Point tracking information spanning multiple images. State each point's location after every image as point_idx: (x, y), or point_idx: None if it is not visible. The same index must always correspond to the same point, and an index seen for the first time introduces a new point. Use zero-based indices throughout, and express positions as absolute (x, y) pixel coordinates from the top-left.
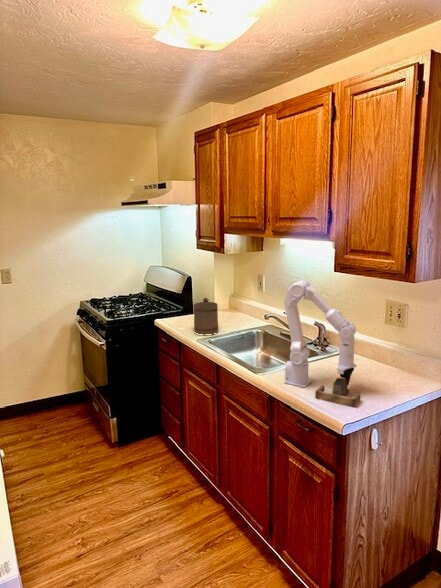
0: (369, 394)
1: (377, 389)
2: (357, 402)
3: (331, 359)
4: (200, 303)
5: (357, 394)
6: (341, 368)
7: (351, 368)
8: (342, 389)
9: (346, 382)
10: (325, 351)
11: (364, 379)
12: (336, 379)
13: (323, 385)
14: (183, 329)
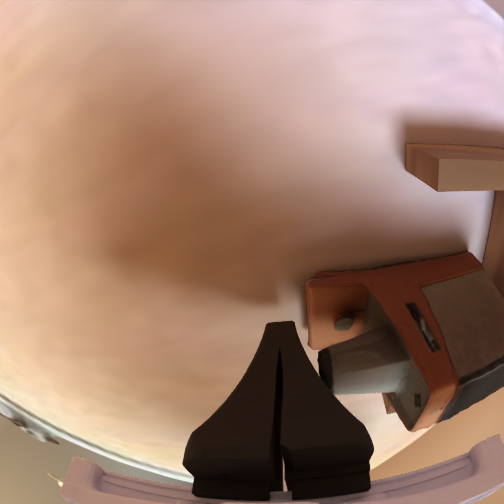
0: (223, 118)
1: (81, 120)
2: (479, 149)
3: (33, 408)
4: None
5: (472, 177)
6: (477, 498)
7: (237, 471)
8: (493, 308)
9: (417, 348)
10: (20, 419)
11: (28, 267)
12: (461, 410)
13: (391, 407)
14: None
